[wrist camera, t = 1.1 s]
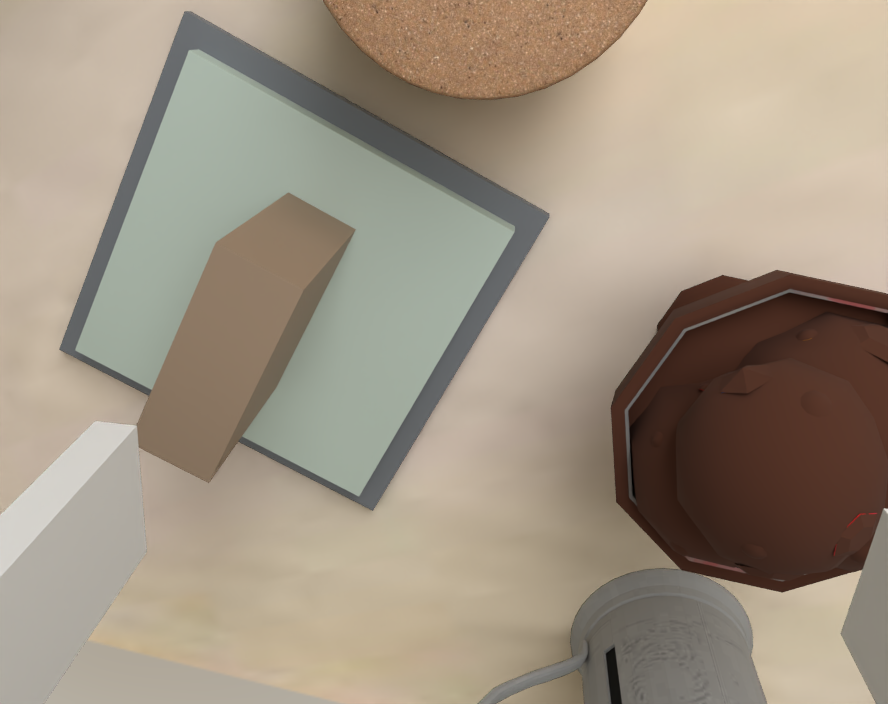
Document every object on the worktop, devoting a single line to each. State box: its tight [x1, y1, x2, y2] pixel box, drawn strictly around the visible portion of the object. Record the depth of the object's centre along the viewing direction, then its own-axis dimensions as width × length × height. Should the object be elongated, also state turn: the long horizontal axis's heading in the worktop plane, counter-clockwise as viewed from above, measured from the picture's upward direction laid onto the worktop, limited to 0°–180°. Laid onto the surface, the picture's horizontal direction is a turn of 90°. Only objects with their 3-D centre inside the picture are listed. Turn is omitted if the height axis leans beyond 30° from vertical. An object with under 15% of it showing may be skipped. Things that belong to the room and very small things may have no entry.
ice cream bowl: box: [611, 270, 888, 592], centre depth 28 cm, size 11×11×15 cm
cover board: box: [75, 49, 515, 496], centre depth 31 cm, size 14×14×9 cm
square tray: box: [59, 11, 549, 511], centre depth 35 cm, size 16×16×1 cm
